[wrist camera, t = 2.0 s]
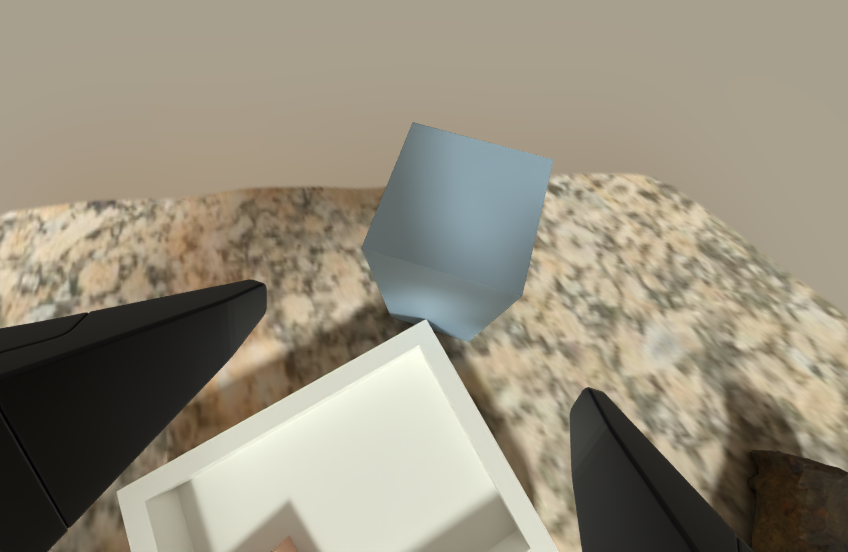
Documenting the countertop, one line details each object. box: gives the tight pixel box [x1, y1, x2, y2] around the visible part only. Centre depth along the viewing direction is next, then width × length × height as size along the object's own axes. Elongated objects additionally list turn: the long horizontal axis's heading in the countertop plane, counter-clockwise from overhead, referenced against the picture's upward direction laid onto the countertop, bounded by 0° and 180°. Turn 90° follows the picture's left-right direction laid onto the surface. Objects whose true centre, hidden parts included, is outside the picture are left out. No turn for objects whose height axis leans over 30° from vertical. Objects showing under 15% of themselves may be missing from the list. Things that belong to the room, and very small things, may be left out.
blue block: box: [362, 123, 553, 342], centre depth 16 cm, size 5×5×11 cm
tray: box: [116, 319, 559, 552], centre depth 16 cm, size 16×12×3 cm
